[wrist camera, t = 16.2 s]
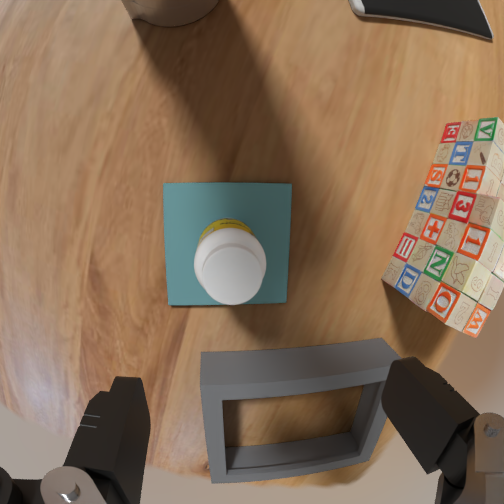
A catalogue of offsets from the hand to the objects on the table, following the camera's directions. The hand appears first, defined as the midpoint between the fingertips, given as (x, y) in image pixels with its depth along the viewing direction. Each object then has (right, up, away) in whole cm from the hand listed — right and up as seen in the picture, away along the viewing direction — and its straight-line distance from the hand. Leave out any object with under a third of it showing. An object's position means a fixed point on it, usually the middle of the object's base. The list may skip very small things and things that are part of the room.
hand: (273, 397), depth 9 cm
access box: (+4, -15, +27) cm, 32 cm away
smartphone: (+22, +40, +16) cm, 49 cm away
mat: (-3, +5, +21) cm, 22 cm away
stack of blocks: (+21, +10, +24) cm, 33 cm away
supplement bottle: (-3, +5, +21) cm, 22 cm away
